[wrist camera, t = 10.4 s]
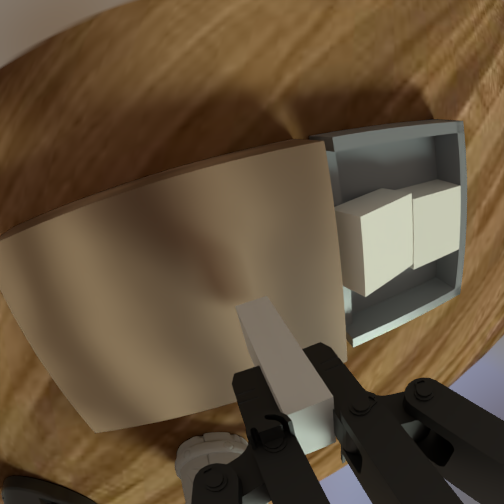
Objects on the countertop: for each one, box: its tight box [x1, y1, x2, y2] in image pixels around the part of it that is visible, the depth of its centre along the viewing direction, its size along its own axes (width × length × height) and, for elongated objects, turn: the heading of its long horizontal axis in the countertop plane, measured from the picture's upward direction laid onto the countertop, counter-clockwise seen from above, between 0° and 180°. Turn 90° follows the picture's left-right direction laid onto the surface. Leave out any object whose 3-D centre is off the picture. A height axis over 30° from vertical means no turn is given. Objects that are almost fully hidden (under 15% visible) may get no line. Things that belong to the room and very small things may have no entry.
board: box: [0, 139, 347, 433], centre depth 18 cm, size 18×14×4 cm
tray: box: [309, 119, 467, 347], centre depth 20 cm, size 11×14×3 cm
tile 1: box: [397, 179, 461, 270], centre depth 20 cm, size 5×5×2 cm
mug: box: [175, 432, 268, 504], centre depth 21 cm, size 8×12×12 cm, turn 103°
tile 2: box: [334, 188, 413, 297], centre depth 19 cm, size 5×5×2 cm
